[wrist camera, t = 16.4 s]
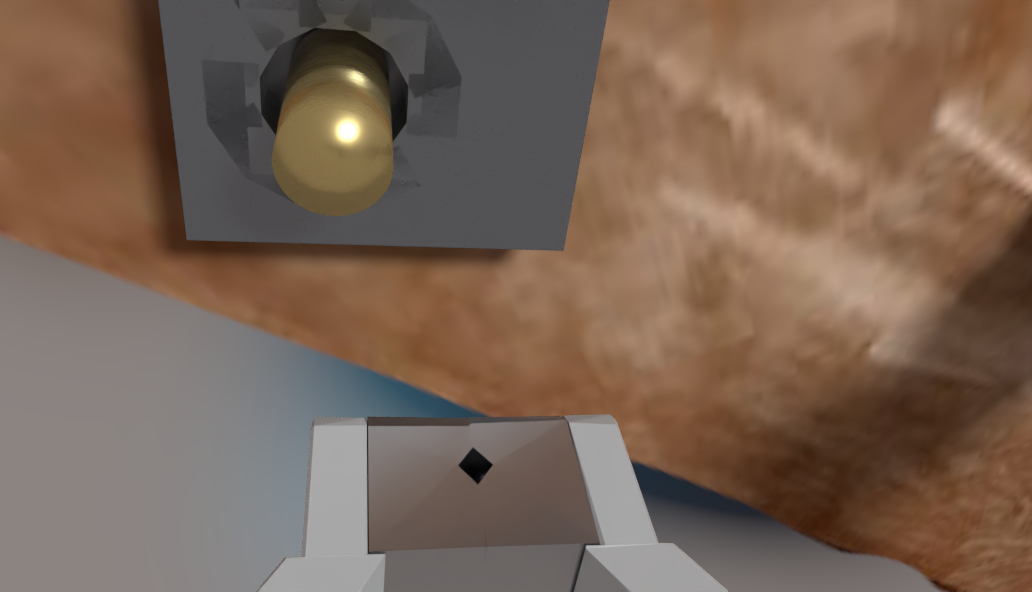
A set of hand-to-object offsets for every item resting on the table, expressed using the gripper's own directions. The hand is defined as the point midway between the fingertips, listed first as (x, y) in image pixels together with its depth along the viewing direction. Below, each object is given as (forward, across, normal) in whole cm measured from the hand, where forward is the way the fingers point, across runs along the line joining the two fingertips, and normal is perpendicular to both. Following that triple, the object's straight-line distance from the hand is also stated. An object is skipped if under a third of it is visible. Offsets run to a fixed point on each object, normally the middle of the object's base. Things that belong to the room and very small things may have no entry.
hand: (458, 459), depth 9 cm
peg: (+28, +2, +7) cm, 29 cm away
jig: (+29, 0, +7) cm, 30 cm away
